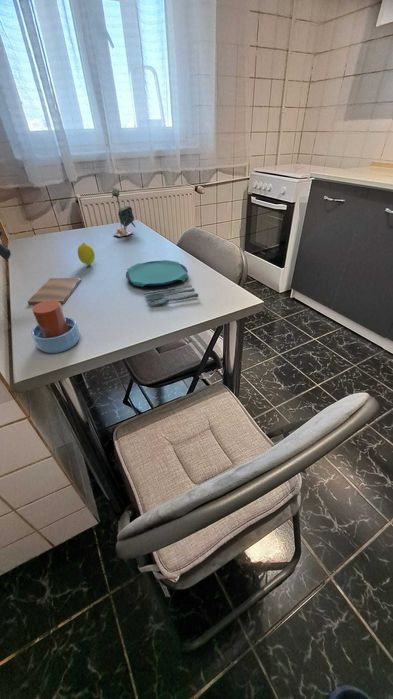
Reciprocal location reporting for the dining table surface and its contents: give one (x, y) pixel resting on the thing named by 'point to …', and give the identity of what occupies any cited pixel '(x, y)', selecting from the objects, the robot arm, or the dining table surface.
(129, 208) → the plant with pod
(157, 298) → the cutlery set
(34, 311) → the terracotta cylindrical canister
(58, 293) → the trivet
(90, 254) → the lemon
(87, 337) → the dining table surface
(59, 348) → the bowl
